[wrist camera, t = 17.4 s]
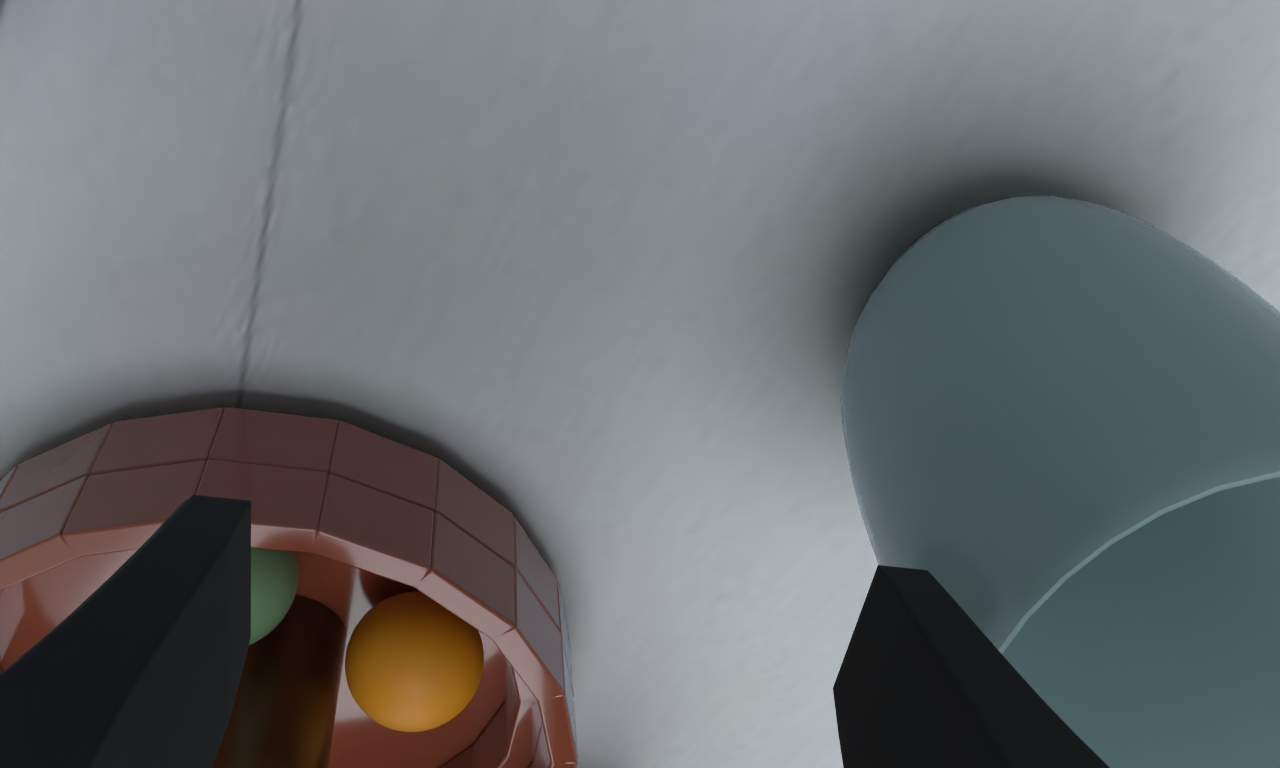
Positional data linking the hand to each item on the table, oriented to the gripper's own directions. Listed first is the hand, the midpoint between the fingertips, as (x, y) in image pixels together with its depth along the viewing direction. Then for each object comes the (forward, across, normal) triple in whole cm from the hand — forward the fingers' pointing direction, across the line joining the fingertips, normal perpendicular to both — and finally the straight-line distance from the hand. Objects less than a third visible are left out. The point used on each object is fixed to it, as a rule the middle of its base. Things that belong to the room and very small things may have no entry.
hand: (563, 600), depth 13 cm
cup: (+11, -9, +1) cm, 14 cm away
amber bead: (+9, +2, +10) cm, 13 cm away
